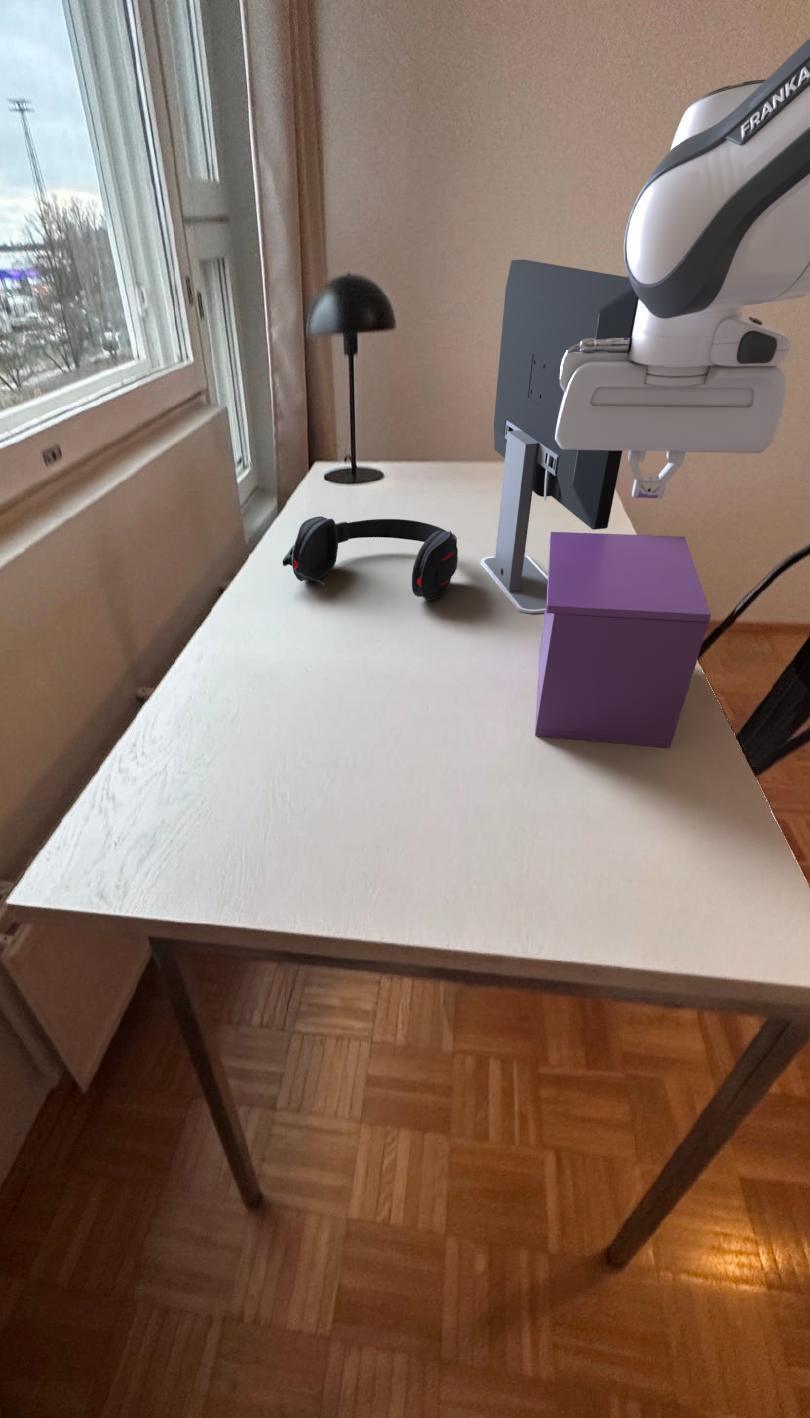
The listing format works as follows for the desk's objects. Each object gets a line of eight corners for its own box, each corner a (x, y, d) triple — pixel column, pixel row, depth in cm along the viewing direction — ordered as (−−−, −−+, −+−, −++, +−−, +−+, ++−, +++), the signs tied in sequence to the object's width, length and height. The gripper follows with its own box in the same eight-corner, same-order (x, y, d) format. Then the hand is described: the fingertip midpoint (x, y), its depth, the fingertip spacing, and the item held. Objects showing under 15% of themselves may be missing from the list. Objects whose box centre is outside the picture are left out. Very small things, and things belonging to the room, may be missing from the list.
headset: (284, 620, 111) (279, 562, 105) (286, 555, 131) (282, 504, 125) (470, 610, 111) (474, 552, 105) (443, 546, 131) (446, 495, 125)
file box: (534, 735, 85) (554, 613, 75) (539, 648, 101) (556, 538, 91) (670, 748, 82) (708, 622, 72) (653, 656, 98) (683, 543, 88)
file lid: (546, 613, 75) (547, 605, 75) (549, 538, 91) (550, 531, 91) (709, 622, 72) (711, 614, 72) (683, 543, 88) (684, 536, 88)
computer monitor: (601, 636, 103) (675, 280, 77) (543, 642, 102) (598, 285, 76) (507, 536, 134) (537, 258, 107) (462, 540, 133) (481, 261, 107)
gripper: (564, 343, 67) (543, 503, 76) (811, 342, 63) (757, 510, 72) (564, 333, 71) (544, 484, 80) (794, 331, 67) (745, 490, 76)
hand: (646, 496), depth 76 cm, fingers closed
